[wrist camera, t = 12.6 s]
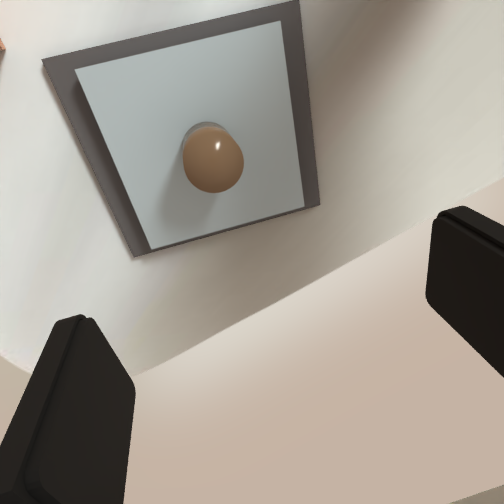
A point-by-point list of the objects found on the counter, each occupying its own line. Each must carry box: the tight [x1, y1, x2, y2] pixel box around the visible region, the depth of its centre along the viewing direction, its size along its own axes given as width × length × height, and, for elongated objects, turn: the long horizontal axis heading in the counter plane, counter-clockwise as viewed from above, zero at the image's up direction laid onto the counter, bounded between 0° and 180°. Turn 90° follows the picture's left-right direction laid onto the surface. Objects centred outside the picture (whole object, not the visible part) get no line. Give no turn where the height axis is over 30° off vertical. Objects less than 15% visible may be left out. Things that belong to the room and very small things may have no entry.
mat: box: [41, 0, 320, 257], centre depth 27 cm, size 18×16×1 cm
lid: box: [75, 21, 305, 249], centre depth 25 cm, size 14×14×6 cm
